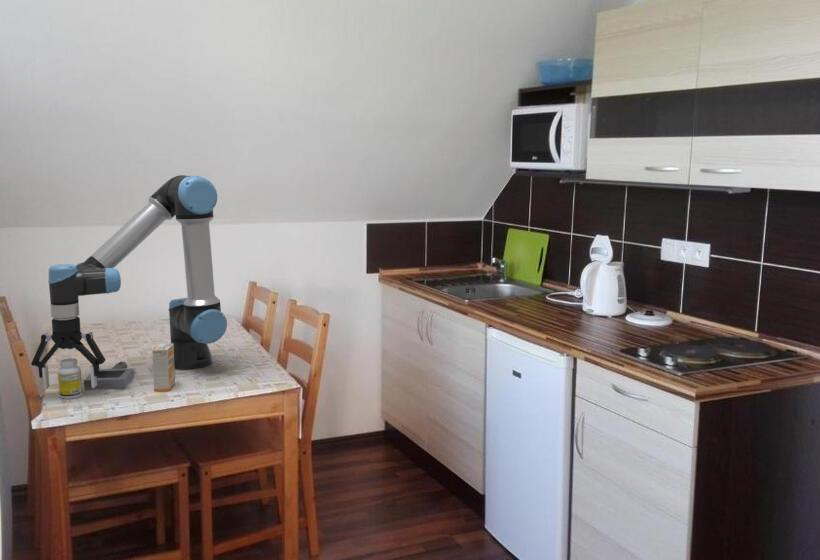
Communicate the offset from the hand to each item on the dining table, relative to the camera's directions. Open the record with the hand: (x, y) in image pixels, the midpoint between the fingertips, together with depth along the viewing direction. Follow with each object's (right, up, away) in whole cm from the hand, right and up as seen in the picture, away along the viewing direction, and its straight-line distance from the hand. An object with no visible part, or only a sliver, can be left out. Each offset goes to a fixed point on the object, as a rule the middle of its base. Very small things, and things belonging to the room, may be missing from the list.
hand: (70, 387), depth 222 cm
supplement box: (+25, -2, +10) cm, 27 cm away
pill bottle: (0, -3, 0) cm, 3 cm away
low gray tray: (+6, 0, +18) cm, 19 cm away
